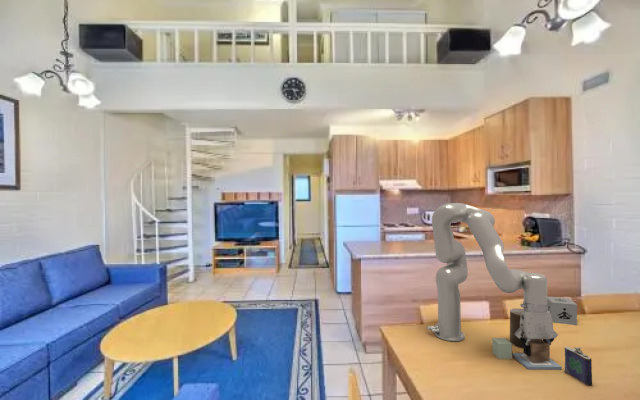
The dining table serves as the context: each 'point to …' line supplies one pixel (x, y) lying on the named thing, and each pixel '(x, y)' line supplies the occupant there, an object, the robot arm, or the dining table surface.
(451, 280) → the robot arm
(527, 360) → the blueprint board
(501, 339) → the green block
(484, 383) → the dining table surface
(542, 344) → the walnut block
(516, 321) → the pillar candle
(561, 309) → the icon cube
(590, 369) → the flask
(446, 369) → the dining table surface
